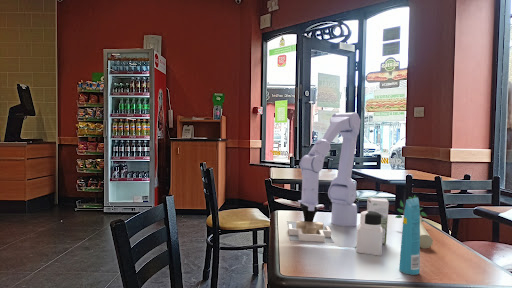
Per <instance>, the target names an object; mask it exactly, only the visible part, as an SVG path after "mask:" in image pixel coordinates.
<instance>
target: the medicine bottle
mask: <svg viewBox="0 0 512 288" xmlns="http://www.w3.org/2000/svg"><path fill="white" fill-rule="evenodd" d="M359 220H360V221H359V222H360V223H359V224H358V225H357V226H358V227H357V232H356V233H357V234H356V250H355V252H356V253H358V254H366V255H373V256H374V255H375V256H380V257H381V256H382V251H383V244H382V235H383V228H382V227H381V214H380V213H378V212H374V211H367V210H364V211H361V212H360V219H359Z"/></svg>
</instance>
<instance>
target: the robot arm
mask: <svg viewBox="0 0 512 288" xmlns="http://www.w3.org/2000/svg"><path fill="white" fill-rule="evenodd" d="M361 123H362V121H361V118H360V116H359V113H357V112H355V111H354V112H334V113H333V114H332V115H331V117H330V119H329V126H328V128H327V129H326V131H325V133H324V135H323V137H322V138H320V139H317V140H316V141H315V143H314V145H312V147H311V148H310V151H309V152H308V154H305V155H303V156H302V157H301V158H300V160H299V164H298V165H299V169H300V170H301V174H300V175H302V178H301V179H302V181H301V183H302V184H301V199H300V200H297V203H298V204H301V206H300V209H301V211H302V213H303V220H304V221H307V222H314V219H315V215H317V213H318V207H317V206H318V205H319V181H320V179H319V178H320V177H319V176H320V171H322V170H323V167H324V162H325V158H326V157H327V155H328V154H329V152H330V151H331V149H332V148H331V143H332V142H333V141H334V140H335V139H336V138H337V136H338V135H341V137H342V142H341V143H342V144H341V150H340V156H339V162H338V163H339V164H338V169H337V176H336V177H335V178H333V179H332V180H331V181H330V186H329V187H328V190H327V196H328V199H329V200H330V202H331V222H330V223H331V224H332V225H334V226H341V227H343V226H344V227H349V226H350V227H357V226H358V225H357V222H358V207H357V204H356V203H354V202H355V201H356V199H357V184H356V183H355V182H354V181H353V179H352V174H353V166H354V160H355V155H356V153H355V152H356V147H357V140H358V136H359V134H360V128H361Z"/></svg>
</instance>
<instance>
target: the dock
mask: <svg viewBox="0 0 512 288" xmlns="http://www.w3.org/2000/svg"><path fill="white" fill-rule="evenodd" d="M324 226H325V230H319V235H318V234H303V233H302V230H301V229H295V228H292V224H289V226H288V225H287V230H288V236H289V235H298V237H299V240H300V241H299V242H307V241H317V242H316V243H324V242H325V237H331V238H332V230H331V228H330V226H328V225H324Z"/></svg>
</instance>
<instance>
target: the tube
mask: <svg viewBox="0 0 512 288" xmlns="http://www.w3.org/2000/svg"><path fill="white" fill-rule="evenodd" d="M412 198H413V197H412ZM404 206H405V207H404V210H405V211H404V210H403V211H404V214H403V215H404V216H403V218H402V220H403V222H402V229H401V230H402V231H401V243H400V244H401V245H400V255H399V256H400V257H399V264H398V268H399V271H400V272H401V273H402V272H403V273H402V274H405V275H409V274H410V276H411V275H412V276H414V275H416V276H417V275H420V268H421V267H420V265H421V263H420V262H421V261H420V257H421V247H420V216H421V210H420V208H421V207H420V200H419V197H418V196H416V198H413V199H409V198H408V199H406V200H405V205H404Z"/></svg>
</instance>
